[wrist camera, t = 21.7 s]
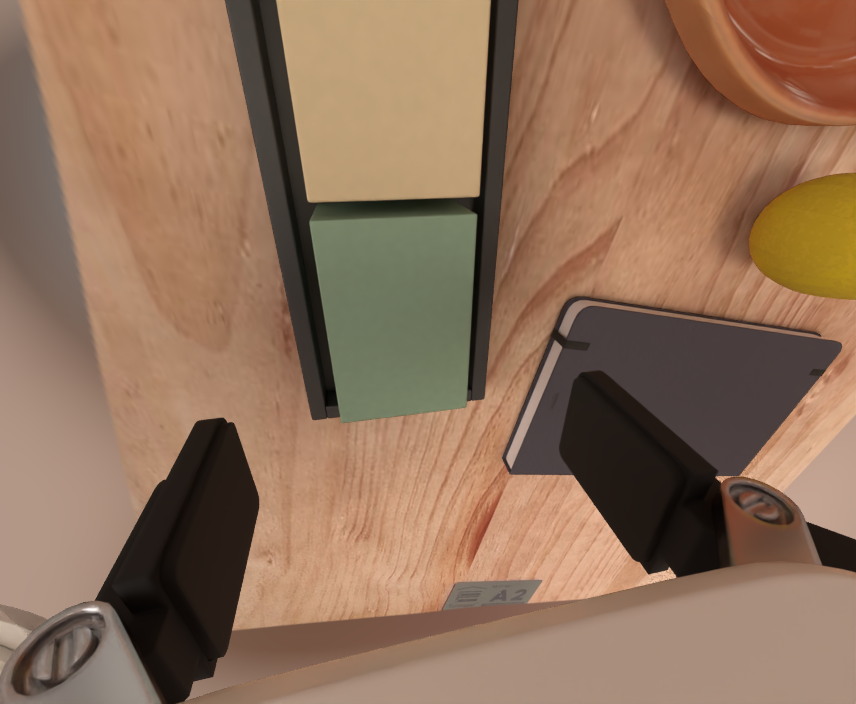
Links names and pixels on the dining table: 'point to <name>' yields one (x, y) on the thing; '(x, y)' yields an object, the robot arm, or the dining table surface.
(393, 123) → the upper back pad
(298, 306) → the tray
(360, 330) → the pad
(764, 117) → the saucer
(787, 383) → the notebook
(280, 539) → the dining table surface
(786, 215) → the lemon
